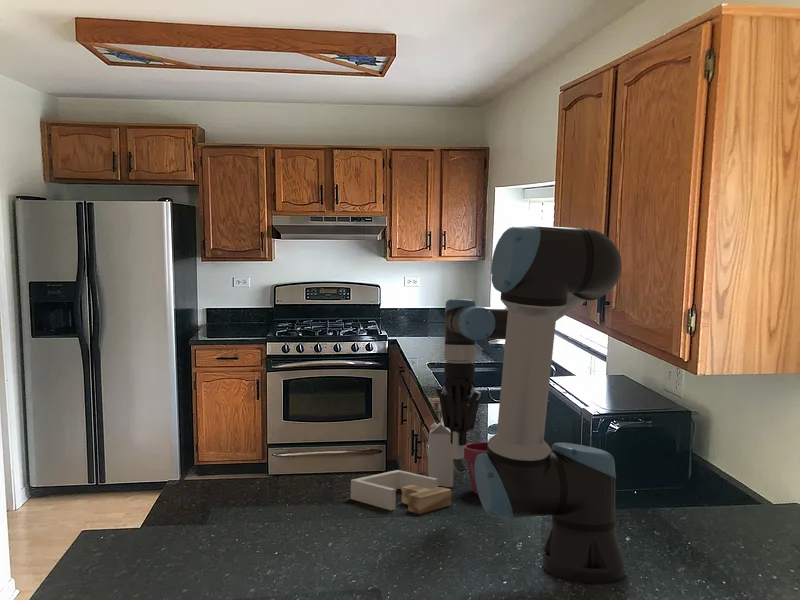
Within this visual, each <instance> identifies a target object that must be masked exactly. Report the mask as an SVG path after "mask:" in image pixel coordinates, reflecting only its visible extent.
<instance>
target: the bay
mask: <svg viewBox="0 0 800 600" xmlns="http://www.w3.org/2000/svg"><path fill="white" fill-rule="evenodd" d="M409 485H416V486H419V487H423V488H427V489H432V488H436V487H438V479H437V478H432V477H428V475H424V474H423V475H422V474H418V473H414V472H409V471H404V470H401V469H396V470H395V469H394V470H392V471H387V472H382V473H378V474H377V473H376V474H372V475H368V476H363V477H358V478H354V479H351V480H350V500H354V501H355V502H356V501H357V502H360V503H365V504H367V505H371V506H375V507H377V508H381V509H385V510H389V511H395V510H396V494H397V492H396V491H398V490H397V489H401V490H400V491H402V487H405V486H409Z"/></svg>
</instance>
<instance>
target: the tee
mask: <svg viewBox="0 0 800 600" xmlns="http://www.w3.org/2000/svg"><path fill="white" fill-rule="evenodd" d="M401 503H402V504H404V505H407V506H408V508H407V509H408V510H407V511H408V512H412V513H414V514H418V515H422V514H425V513H428V512H432V511H435V510H439V509H442V508H445V507H446V508H447V507H449V506H452V489H451V488H448V487H436V488H432V489H427V488H423V487H419V486H416V485H409V486H405V487H402V490H401Z"/></svg>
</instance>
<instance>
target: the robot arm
mask: <svg viewBox="0 0 800 600" xmlns="http://www.w3.org/2000/svg"><path fill="white" fill-rule="evenodd" d="M622 267H623V264H622V256H621V254H620V251H619V249H618V247H617V246H616V244H615V243H614V241H613V240H611V239H610V238H609V237H608V236H607V235H605V234H604V233H602V232H600V231H598V230H596V229H592V228H586V227H585V228H584V227H578V228H577V227H560V226H549V225H548V226H545V225H536V224H533V225H531V224H530V225H514V226H511V227H508V228H507V229H505V231H503V233H502V234H501V236H500V237H499V239H498V241H497V243H496V246H495V248H494V251H493V256H492V260H491V267H490V274H491V283H492V286H493V288H494V289H495V291H498V292H499V293H500V301H501V302H502V303H503V304H504V306H505V307H500V306H499V307H498V306H496V307H494V306H482V305H476V301H475V300H473V299H461V298H460V299H459V298H458V299H457V298H455V299H448V300H447V301H445V309H444V313H443V315H444V353H443V355H444V356H443V358H444V360H445V361H446V362H445V363H444V364H443V367H444V368H443V371H444V372H443V375H444V377H445V380H444V383H443V386H442V387H439V388H436V393H437V395H438V398H439V403H440V409H441V417H442V421H443V422H444V427H446V428H449V429H450V431H451V444H453V453H452V458H453V460H461V459H464V446H465V445H466V444H467V432H469V431H472V430H474V428H475V423H476V419H477V414H478V409H479V405H480V401H481V400H482V397H483V395H484V393H483V392H482V391H478V390H477V389H476V388H475V387H476V386H475V385H476V384H475V381H474V378H476V377H475V376H476V374H475V373H476V369H475V368H476V364H475V363H474V361H475V360H476V353H475V352H476V341H480V340H505V341H504V352H503V361H502V373H501V385H500V393H499V395H500V396H499V405H498V416H497V417H498V418H497V427H496V434H494V435H493V436H492V437H490V438H489V439H488V440H487V442H488V447H487V453H481V454H478V455H477V457H476V459H475V466H474V470H475V481H476V487H477V491H478V494H477V495H478V498H479V500H480V503H481V506H482V507H483V510H484V511H485V512H486V513H487V514H488V515H489V516H490V517H493V518H508V519H513V518H526V517H527V518H530V517H546V516H547V517H549V516H551V526H550V527H551V528H550V530H549V533H548V536H547V540H546V543H545V544H544V547H543V551H542V568H543V569H544V570H545V571H546V572H547V573H549V574H551V575H553V576H555V577H557V578H559V579H560V578H561V579H563V580H567V581H571V582H576V583H583V584H597V585H598V584H609V583H613V582H617V581H620V580H621V579H623V578H624V577H625V573H626V562H625V559H624V555H623V552H622V551H623V550H622V549H621V545H620V542H619V539H618V536H617V533H616V479H617V474H616V462H615V459H614V456H613V455H612V454H611V453H610V452H608V451H605V450H604V449H600V448H598V447H597V448H596V447H592V446H588V445H582V444H577V443H570V442H554V443H553V444H552V447H550V445H549V444H548V443H547V442H546V440H544V439H545V430H546V419H547V412H548V410H547V409H548V400H549V389H550V379H551V371H552V363H553V353H554V352H553V351H554V343H555V335H556V334H555V333H556V324H557V323H556V322H557V321H558V320H560V319H562V317H564V316H566V315H567V314H569V313H570V312H572V311H574V309H576V308H578V307H579V306H580V305H582V304H583V303H585V302H592V301H597V300H598V299H600V298H602V297H604V296H605V295H606V294H608V293H609V292H610V291H611V290H612V289H613V288H614V287H616V284H617V283H618V281H619V279H620V277H621V274H622Z"/></svg>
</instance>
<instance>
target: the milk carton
mask: <svg viewBox="0 0 800 600" xmlns="http://www.w3.org/2000/svg"><path fill="white" fill-rule="evenodd" d="M429 428H430V430H429V433H428V448H427V449H428V452H427V453H428V462H427V463H428V464H427V465H428V466H427V469H428V471H427V476H428V477H432V478H437V479H438V486H442V487H443V488H453V486H454V459H453V458H452V453H453V444H451V431H450V429H449V428H446V427H444V422H443V417H441V419H440V422H439V423H438V424H437V422H434V423H432V424H431V425H430V426H429Z"/></svg>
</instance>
